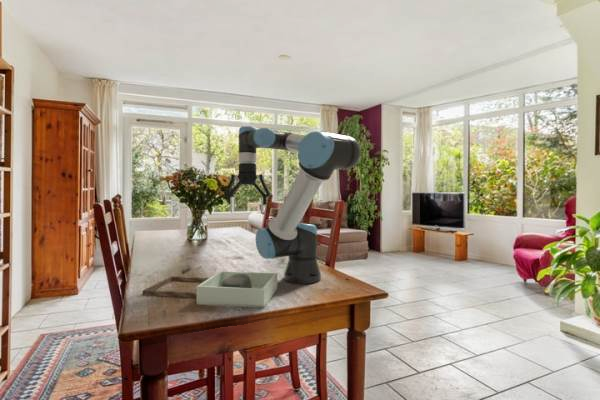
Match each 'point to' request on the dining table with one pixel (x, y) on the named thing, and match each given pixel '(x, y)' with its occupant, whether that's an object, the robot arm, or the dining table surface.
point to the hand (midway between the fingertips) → (247, 212)
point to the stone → (237, 281)
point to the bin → (237, 290)
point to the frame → (155, 292)
